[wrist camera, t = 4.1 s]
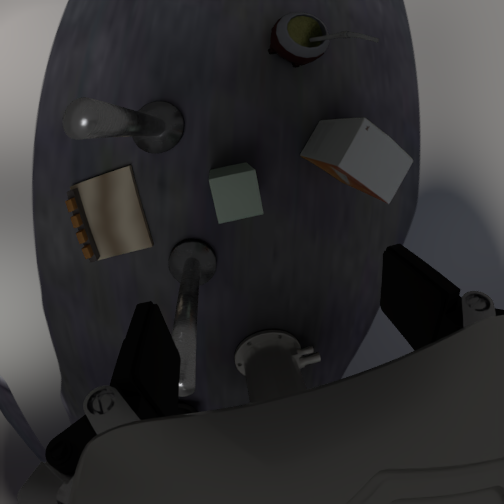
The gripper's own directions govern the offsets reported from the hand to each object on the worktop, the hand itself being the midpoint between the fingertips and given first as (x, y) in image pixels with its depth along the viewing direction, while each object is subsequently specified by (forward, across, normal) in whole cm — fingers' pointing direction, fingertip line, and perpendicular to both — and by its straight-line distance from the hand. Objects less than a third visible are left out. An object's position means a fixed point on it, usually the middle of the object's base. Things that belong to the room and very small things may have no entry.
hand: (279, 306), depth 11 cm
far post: (+30, +8, +10) cm, 33 cm away
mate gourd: (+30, -12, -18) cm, 37 cm away
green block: (+30, 0, 0) cm, 30 cm away
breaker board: (+30, +18, 0) cm, 35 cm away
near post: (+30, +8, -10) cm, 32 cm away
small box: (+30, -15, -2) cm, 34 cm away
